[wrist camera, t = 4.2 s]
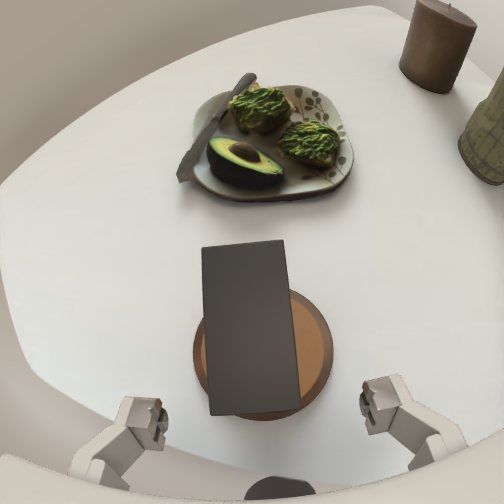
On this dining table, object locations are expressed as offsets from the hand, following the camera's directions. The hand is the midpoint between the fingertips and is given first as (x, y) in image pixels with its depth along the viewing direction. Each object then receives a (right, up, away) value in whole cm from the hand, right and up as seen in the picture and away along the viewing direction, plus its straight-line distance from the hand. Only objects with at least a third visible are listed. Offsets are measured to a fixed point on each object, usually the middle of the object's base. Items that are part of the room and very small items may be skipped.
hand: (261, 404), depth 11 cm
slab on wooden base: (0, -2, +11) cm, 11 cm away
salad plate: (+1, +17, +20) cm, 27 cm away
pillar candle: (+28, +34, +25) cm, 51 cm away
